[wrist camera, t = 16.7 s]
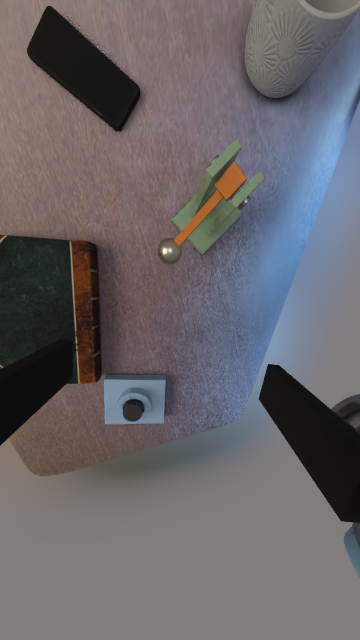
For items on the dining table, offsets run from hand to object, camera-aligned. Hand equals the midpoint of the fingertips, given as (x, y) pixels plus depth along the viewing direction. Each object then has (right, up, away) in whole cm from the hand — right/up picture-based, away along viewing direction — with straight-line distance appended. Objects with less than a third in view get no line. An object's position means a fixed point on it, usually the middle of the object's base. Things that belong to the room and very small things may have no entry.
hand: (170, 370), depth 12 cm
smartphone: (-13, +40, +15) cm, 45 cm away
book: (-23, +5, +21) cm, 32 cm away
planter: (+16, +45, +17) cm, 51 cm away
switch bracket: (+5, +22, +21) cm, 31 cm away
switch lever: (+3, +17, +13) cm, 22 cm away
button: (-8, -14, +23) cm, 28 cm away
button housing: (-9, -13, +26) cm, 31 cm away
